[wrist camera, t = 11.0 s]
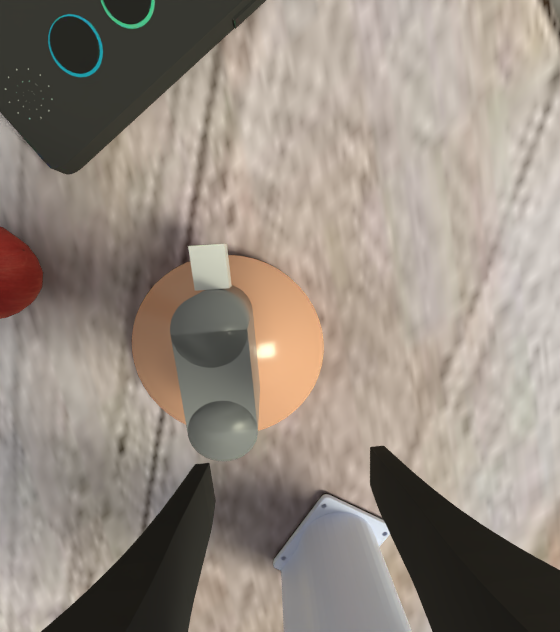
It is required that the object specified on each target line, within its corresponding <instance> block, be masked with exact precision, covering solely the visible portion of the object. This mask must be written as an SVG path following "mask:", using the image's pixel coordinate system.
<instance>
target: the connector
mask: <svg viewBox="0 0 560 632" xmlns="http://www.w3.org/2000/svg"><path fill="white" fill-rule="evenodd" d="M188 248H189V255H190V262H191V269H192V275H193V282H194V289H195V291H198V290H204V291H202V292H200V293H198V294H197V295H195V296H193V297H191V298H189V299H187V300H186V301H184V302H183V303H182V304H181V305H180V306H179V307H178V308H177V309H176V311H175V312H174V314H173V316H172V319H171V324H170V335H171V341H172V347H173V352H174V358H175V364H176V369H177V375H178V381H179V387H180V392H181V398H182V404H183V409H184V415H185V421H186V426H187V432H188V437H189V440H190V443H191V444H192V446H193V447H194V449H195V450H196V451H197V452H198V453H200V454H201V455H203V456H204V457H206V458H209V459H212V460H216V461H231V460H235V459H238V458H240V457H242V456H244V455H245V454H246V453H248V452H249V451H250V450H251V448H252V447H253V446H254V444H255V442H256V439H257V435H258V419H259V401H260V381H259V370H258V360H257V350H256V339H255V329H254V319H253V309H252V304H251V302H250V300H249V298H248V296H247V295H246V294H245V293H244V292H243V291H242V290H241V289H239V288H237V287H235V286H233V285H231V276H230V267H229V258H228V249H227V244H213V245H198V246H188Z"/></svg>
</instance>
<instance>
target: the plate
mask: <svg viewBox="0 0 560 632" xmlns="http://www.w3.org/2000/svg"><path fill="white" fill-rule="evenodd" d="M228 258H229V267H230V276H231V285H233V286H235V287H237V288H239V289H241V290H242V291H243V292H244V293H245V294H246V295H247V296H248V298H249V300H250V302H251V304H252V309H253V319H254V329H255V339H256V350H257V360H258V370H259V381H260V401H259V419H258V431H259V430H262V429H265V428H268V427H270V426H272V425H274V424H276V423H278V422H280V421H281V420H283V419H285V418H286V417H287V416H289V415H290V414H291V413H293V412H294V411H295V410H296V409H297V408H298V407H299V406H300V405H301V404H302V403H303V402H304V400H305V399H306V398H307V397H308V395H309V394H310V392H311V390H312V389H313V387H314V385H315V383H316V381H317V378H318V376H319V373H320V369H321V366H322V360H323V353H324V350H323V334H322V328H321V325H320V321H319V318H318V316H317V313H316V311H315V309H314V307H313V305H312V303H311V302H310V300H309V299H308V297H307V296H306V294H305V293H304V292H303V291H302V289H301V288H300V287H299V286H298V285H297V284H296V283H295V282H294V281H293V280H292V279H291V278H289V277H288V276H287V275H286V274H284V273H283V272H281V271H280V270H279V269H277V268H275V267H273V266H271V265H269V264H267V263H265V262H262V261H259V260H257V259H253V258H249V257H244V256H236V255H228ZM202 291H204V290H198V291H195V289H194V282H193V275H192V269H191V262H190V261H189V262H187V263H185V264H183V265H181V266H179V267H177V268H175V269H173V270H172V271H170V272H169V273H167V274H166V275H165V276H164V277H162V278H161V279H160V280H159V281H158V282H157V283H156V284H155V285H154V286H153V287H152V289H151V290H150V291H149V292H148V293H147V295H146V297H145V298H144V300H143V302H142V303H141V305H140V308H139V310H138V312H137V315H136V318H135V322H134V326H133V333H132V353H133V358H134V364H135V367H136V370H137V373H138V376H139V378H140V380H141V382H142V384H143V386H144V387H145V389H146V390H147V392H148V393H149V395H150V396H151V397H152V398H153V400H154V401H155V402H156V403H157V404H158V405H159V406H160V407H161V408H162V409H163V410H164V411H165V412H167V413H168V414H169V415H171V416H172V417H174V418H175V419H176V420H178V421H180V422H182V423H184V424H186V421H185V415H184V409H183V404H182V398H181V392H180V387H179V381H178V375H177V369H176V364H175V358H174V352H173V347H172V341H171V335H170V324H171V319H172V316H173V314H174V312H175V311H176V309H177V308H178V307H179V306H180V305H181V304H182V303H183V302H184V301H186V300H187V299H189V298H191V297H193V296H195V295H197V294H198V293H200V292H202Z"/></svg>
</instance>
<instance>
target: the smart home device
mask: <svg viewBox="0 0 560 632" xmlns="http://www.w3.org/2000/svg"><path fill="white" fill-rule="evenodd" d="M265 1H266V0H0V112H1V113H2V114H3V115H4V117H5V118H6V119H7V120H8V121H9V122H10V123H11V124H12V126H13V127H14V128H15V129H16V130H17V131H18V132H19V133H20V135H21V136H22V137H23V138H24V139H25V140H26V141H27V142H28V144H29V145H30V146H31V147H32V148H33V149H34V150H35V151H36V153H37V154H38V155H39V156H40V157H41V158H42V159H43V160H44V162H45V163H46V164H47V165H48V166H49V167H50V168H52V169H54V170H57V171H59V172H62V173H64V174H72V173H75V172H77V171H78V170H80V169H81V168H82V167H83V166H85V165H86V164H87V163H88V162H89V161H90V160H91V159H92V158H93V157H94V156H95V155H97V154H98V153H99V152H100V151H101V150H102V149H103V148H104V147H105V146H106V145H107V144H109V143H110V142H111V141H112V140H113V139H114V138H115V137H116V136H117V135H118V134H119V133H121V132H122V131H123V130H124V129H125V128H126V127H127V126H128V125H129V124H130V123H131V122H133V121H134V120H135V119H136V118H137V117H138V116H139V115H140V114H141V113H142V112H143V111H145V110H146V109H147V108H148V107H149V106H150V105H151V104H152V103H153V102H154V101H155V100H157V99H158V98H159V97H160V96H161V95H162V94H163V93H164V92H165V91H166V90H167V89H169V88H170V87H171V86H172V85H173V84H174V83H175V82H176V81H177V80H178V79H179V78H181V77H182V76H183V75H184V74H185V73H186V72H187V71H188V70H189V69H190V68H191V67H193V66H194V65H195V64H196V63H197V62H198V61H199V60H200V59H201V58H202V57H203V56H205V55H206V54H207V53H208V52H209V51H210V50H211V49H212V48H213V47H214V46H215V45H217V44H218V43H219V42H220V41H221V40H222V39H223V38H224V37H225V36H226V35H227V34H229V33H230V32H231V31H232V30H233V29H234V28H236V27H238V26H239V25H240V24H241V23H242V22H243V21H244V20H245V19H246V18H247V17H248V16H250V15H251V14H252V13H253V12H254V11H255V10H256V9H257V8H258V7H259V6H260V5H261V4H263V3H264V2H265Z"/></svg>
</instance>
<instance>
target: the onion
mask: <svg viewBox="0 0 560 632" xmlns="http://www.w3.org/2000/svg"><path fill="white" fill-rule="evenodd" d="M42 282H43V272H42V269H41V266H40V264H39V261H38V259H37V257H36V256H35V254H34V253H33V252H32V250H31V249H30V248H29V246H28V245H26V244H25V243H24V242H23V241H21V240H20V239H19V238H17V237H16V236H14V235H13V234H12V233H10V232H9V231H7V230H6V229H4V228H3V227H0V319H1V318H6V317H9V316H11V315H14V314H16V313H19V312H20V311H22V310H23V309H24V308H26V307H27V306H29V305H30V304H31V303H32V302H33V301H34V300H35V299H36V297H37V296H38V294H39V292H40V290H41V288H42Z"/></svg>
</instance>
